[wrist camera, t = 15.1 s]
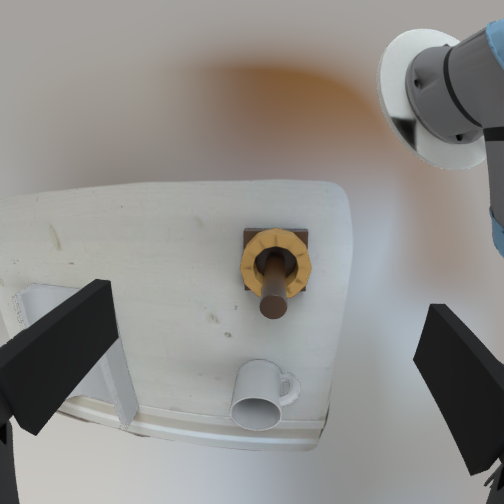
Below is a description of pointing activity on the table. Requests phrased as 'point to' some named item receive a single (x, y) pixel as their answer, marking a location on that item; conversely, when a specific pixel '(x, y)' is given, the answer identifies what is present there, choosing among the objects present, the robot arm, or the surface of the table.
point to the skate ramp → (104, 371)
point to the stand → (274, 272)
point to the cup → (261, 395)
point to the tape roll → (281, 240)
